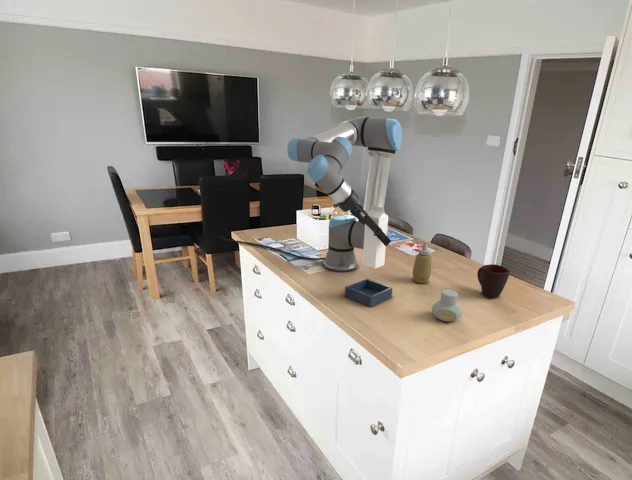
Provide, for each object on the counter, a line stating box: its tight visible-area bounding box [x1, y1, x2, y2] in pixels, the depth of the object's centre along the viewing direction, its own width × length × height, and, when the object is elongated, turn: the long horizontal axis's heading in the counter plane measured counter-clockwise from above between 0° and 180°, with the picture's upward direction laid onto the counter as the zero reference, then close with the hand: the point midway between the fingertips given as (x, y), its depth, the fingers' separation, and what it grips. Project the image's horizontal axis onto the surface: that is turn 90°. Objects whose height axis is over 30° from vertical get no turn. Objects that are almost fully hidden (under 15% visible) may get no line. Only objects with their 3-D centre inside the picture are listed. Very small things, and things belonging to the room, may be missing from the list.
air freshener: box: [431, 289, 463, 322], centre depth 150 cm, size 11×8×10 cm
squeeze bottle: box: [411, 241, 432, 284], centre depth 179 cm, size 8×8×18 cm
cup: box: [476, 264, 511, 299], centre depth 173 cm, size 10×14×12 cm
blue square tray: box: [344, 278, 393, 308], centre depth 163 cm, size 13×13×4 cm
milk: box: [362, 205, 389, 270], centre depth 152 cm, size 6×6×22 cm
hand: (383, 239), depth 154 cm, fingers closed on milk, 8 cm apart
